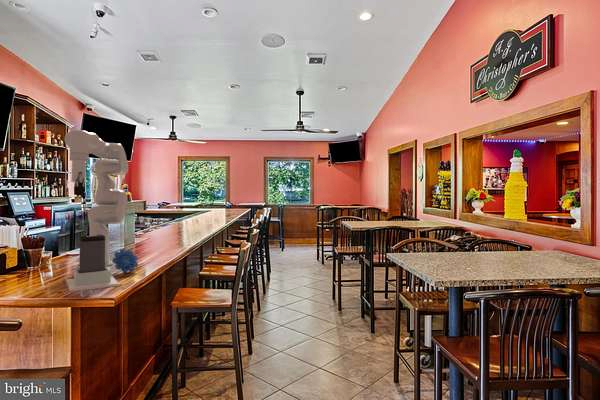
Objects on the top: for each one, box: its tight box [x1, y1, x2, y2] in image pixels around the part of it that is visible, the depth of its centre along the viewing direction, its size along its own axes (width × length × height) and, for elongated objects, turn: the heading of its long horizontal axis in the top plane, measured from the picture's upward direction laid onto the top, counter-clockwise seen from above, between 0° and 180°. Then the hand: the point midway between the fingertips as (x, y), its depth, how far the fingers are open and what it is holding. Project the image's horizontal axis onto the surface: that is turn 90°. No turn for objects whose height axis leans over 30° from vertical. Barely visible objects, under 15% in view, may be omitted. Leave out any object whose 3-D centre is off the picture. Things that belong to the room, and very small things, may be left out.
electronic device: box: [79, 235, 106, 273], centre depth 162 cm, size 9×6×20 cm, turn 129°
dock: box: [65, 266, 120, 292], centre depth 163 cm, size 18×18×6 cm
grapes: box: [111, 248, 139, 274], centre depth 184 cm, size 12×7×12 cm, turn 117°
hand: (79, 195), depth 171 cm, fingers open, 9 cm apart
